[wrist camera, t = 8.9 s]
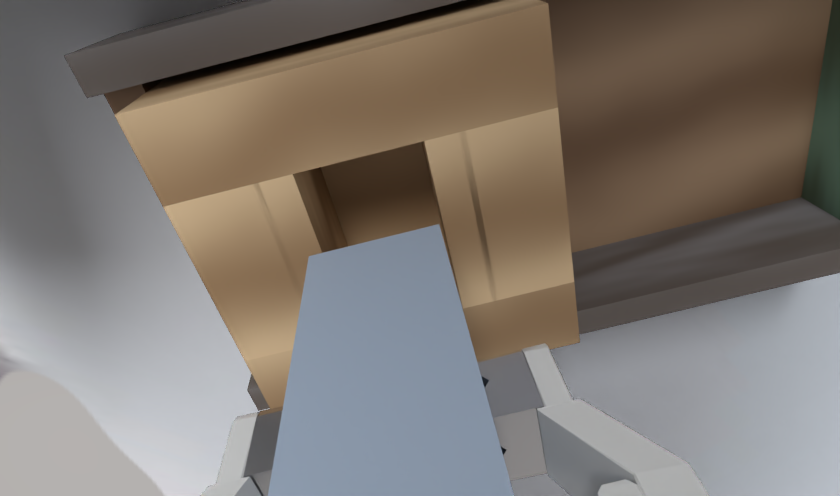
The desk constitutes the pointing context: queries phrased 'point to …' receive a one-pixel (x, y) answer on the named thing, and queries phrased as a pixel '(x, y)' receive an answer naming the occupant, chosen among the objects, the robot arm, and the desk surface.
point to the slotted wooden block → (372, 170)
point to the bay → (617, 132)
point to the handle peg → (385, 380)
